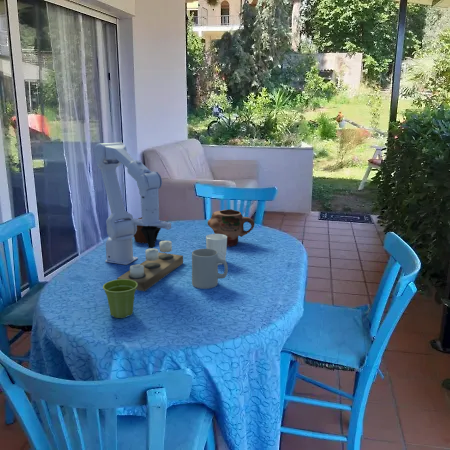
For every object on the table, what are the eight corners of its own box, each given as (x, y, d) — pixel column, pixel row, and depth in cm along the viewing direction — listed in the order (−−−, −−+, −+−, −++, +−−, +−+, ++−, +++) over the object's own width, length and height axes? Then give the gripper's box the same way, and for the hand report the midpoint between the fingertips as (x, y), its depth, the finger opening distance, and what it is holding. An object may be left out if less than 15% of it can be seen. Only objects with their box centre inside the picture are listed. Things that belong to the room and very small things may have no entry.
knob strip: (117, 286, 146) (117, 277, 145) (159, 259, 171) (159, 251, 170) (144, 291, 142) (144, 281, 142) (183, 263, 168) (183, 255, 167)
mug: (188, 287, 146) (188, 255, 143) (196, 277, 154) (196, 247, 151) (224, 291, 143) (224, 258, 140) (230, 281, 151) (231, 250, 148)
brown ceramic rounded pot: (254, 240, 197) (255, 209, 194) (253, 248, 186) (254, 216, 182) (209, 238, 199) (209, 207, 195) (205, 247, 187) (205, 214, 184)
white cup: (224, 266, 165) (224, 240, 162) (203, 264, 167) (203, 238, 164) (228, 259, 172) (229, 234, 170) (208, 257, 174) (208, 233, 171)
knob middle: (143, 259, 154) (142, 250, 153) (149, 255, 158) (149, 247, 157) (154, 261, 153) (154, 252, 152) (160, 257, 157) (160, 248, 156)
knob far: (157, 251, 163) (157, 242, 162) (163, 247, 167) (163, 239, 166) (168, 252, 162) (168, 244, 161) (173, 249, 166) (173, 240, 165)
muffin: (145, 235, 203) (144, 213, 200) (163, 239, 197) (163, 217, 194) (125, 241, 194) (124, 218, 191) (144, 246, 188) (143, 222, 185)
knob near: (127, 276, 146) (127, 267, 145) (134, 272, 150) (134, 263, 149) (139, 278, 144) (139, 269, 143) (146, 274, 148) (146, 264, 147)
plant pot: (107, 306, 131) (105, 279, 129) (140, 306, 132) (139, 278, 130) (101, 321, 122) (99, 292, 120) (136, 320, 123) (135, 291, 121)
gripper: (125, 209, 149) (126, 247, 153) (163, 213, 144) (164, 253, 148) (136, 204, 156) (137, 242, 159) (173, 208, 151) (174, 247, 154)
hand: (151, 247), depth 154 cm, fingers closed
